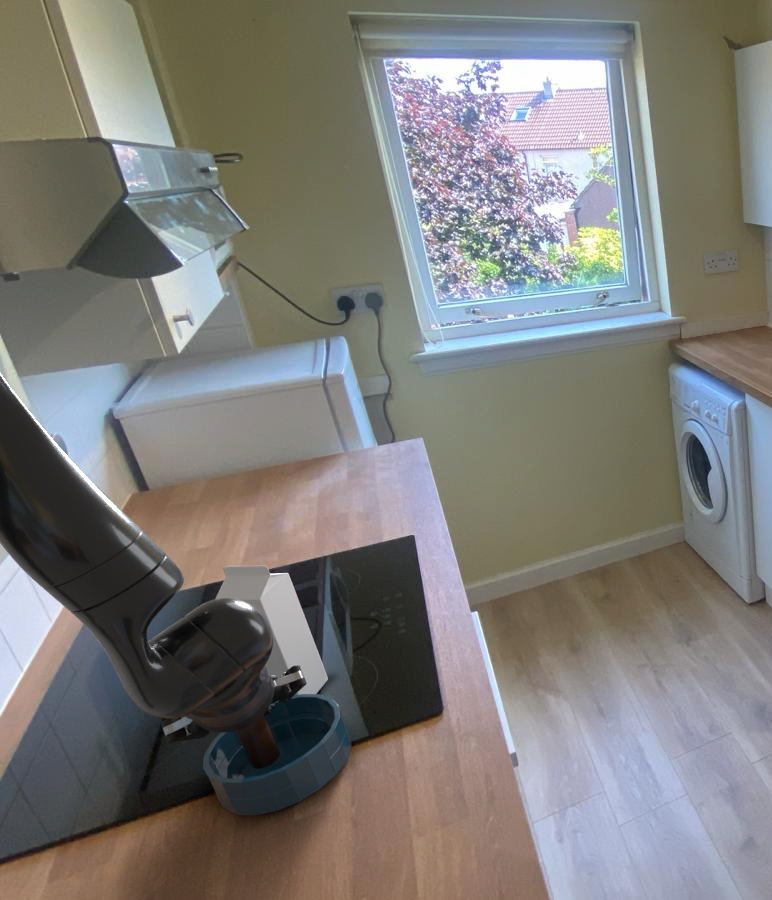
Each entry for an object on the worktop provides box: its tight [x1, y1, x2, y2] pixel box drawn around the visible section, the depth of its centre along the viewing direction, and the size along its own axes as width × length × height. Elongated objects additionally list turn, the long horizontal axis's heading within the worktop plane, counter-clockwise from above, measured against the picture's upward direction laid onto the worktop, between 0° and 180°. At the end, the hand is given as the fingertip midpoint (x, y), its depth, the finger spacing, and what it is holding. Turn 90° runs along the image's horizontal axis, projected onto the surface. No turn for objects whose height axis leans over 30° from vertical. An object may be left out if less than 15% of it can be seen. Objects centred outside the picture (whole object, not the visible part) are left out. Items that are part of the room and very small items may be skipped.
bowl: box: [202, 693, 352, 816], centre depth 92 cm, size 14×14×6 cm
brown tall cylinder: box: [236, 715, 280, 769], centre depth 90 cm, size 3×3×10 cm
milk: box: [215, 565, 329, 696], centre depth 101 cm, size 6×6×22 cm
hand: (247, 714), depth 91 cm, fingers closed on brown tall cylinder, 3 cm apart
